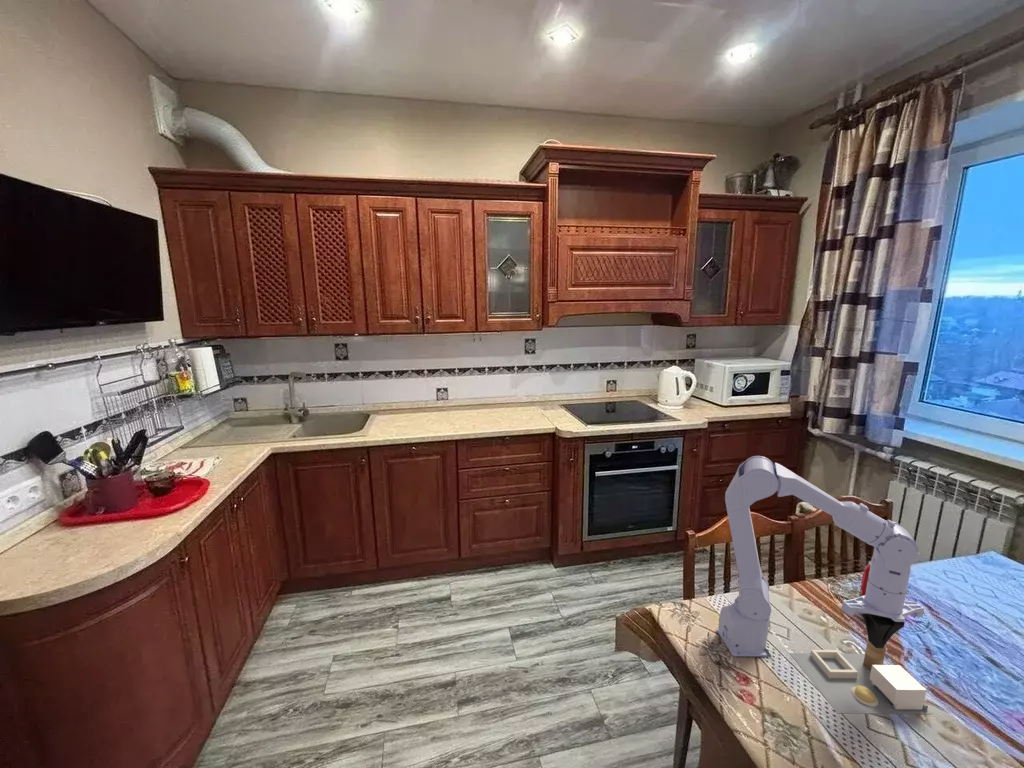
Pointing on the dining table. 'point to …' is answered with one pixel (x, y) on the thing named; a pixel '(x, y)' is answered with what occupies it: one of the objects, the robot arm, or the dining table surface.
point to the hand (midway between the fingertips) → (875, 644)
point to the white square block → (898, 686)
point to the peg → (873, 655)
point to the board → (847, 683)
